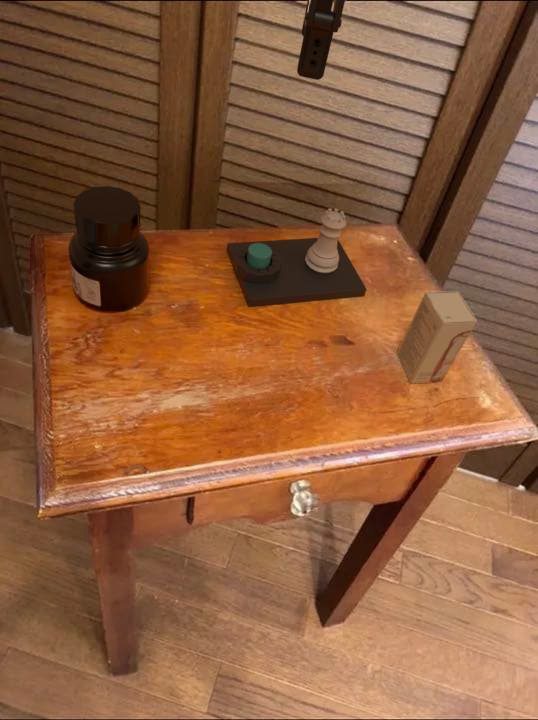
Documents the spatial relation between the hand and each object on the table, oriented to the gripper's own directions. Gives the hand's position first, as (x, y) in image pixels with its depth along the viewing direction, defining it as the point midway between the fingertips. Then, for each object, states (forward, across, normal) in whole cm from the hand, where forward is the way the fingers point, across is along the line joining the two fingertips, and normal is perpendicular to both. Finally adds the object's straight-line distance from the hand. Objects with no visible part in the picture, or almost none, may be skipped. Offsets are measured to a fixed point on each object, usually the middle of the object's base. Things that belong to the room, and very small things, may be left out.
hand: (310, 56), depth 51 cm
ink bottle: (+30, +2, -18) cm, 35 cm away
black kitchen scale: (+30, -7, +4) cm, 31 cm away
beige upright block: (+30, +6, +20) cm, 37 cm away
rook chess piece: (+29, -8, +8) cm, 31 cm away
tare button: (+27, -5, -1) cm, 28 cm away
